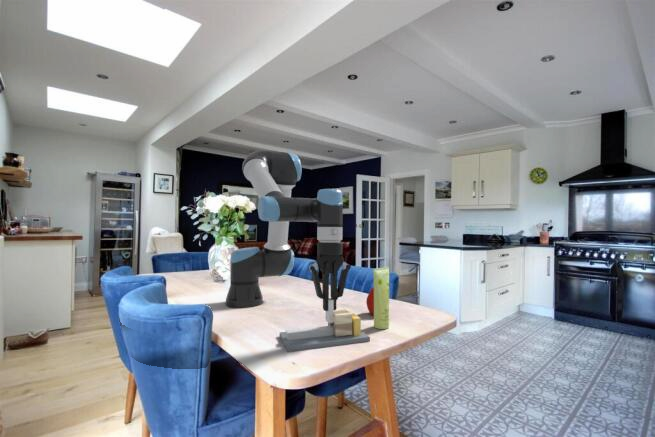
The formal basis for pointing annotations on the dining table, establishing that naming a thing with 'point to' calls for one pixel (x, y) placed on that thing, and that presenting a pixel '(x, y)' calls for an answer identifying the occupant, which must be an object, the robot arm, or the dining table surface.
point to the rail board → (322, 336)
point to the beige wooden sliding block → (342, 322)
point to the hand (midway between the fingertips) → (329, 321)
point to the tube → (381, 298)
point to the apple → (370, 301)
